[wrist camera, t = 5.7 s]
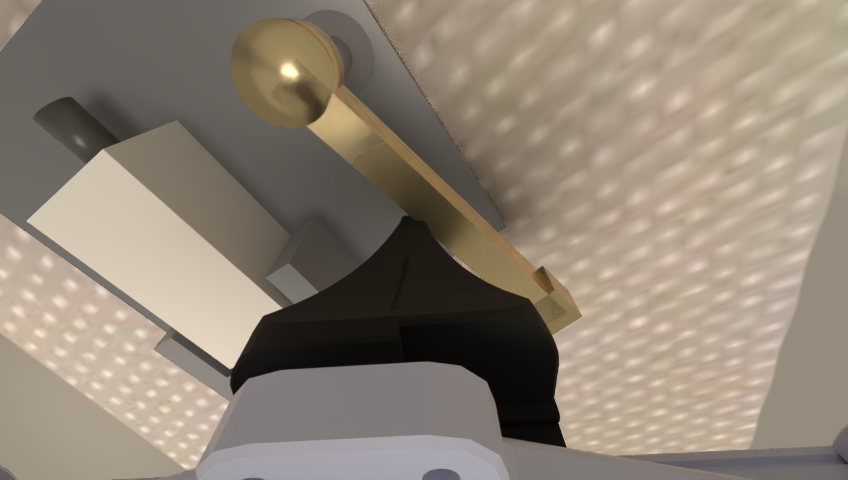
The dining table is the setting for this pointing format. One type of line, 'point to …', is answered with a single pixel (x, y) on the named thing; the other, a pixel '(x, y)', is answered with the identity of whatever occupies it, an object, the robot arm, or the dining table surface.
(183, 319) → the plug
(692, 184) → the dining table surface
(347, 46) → the socket
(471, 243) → the brass ball-knob lever
